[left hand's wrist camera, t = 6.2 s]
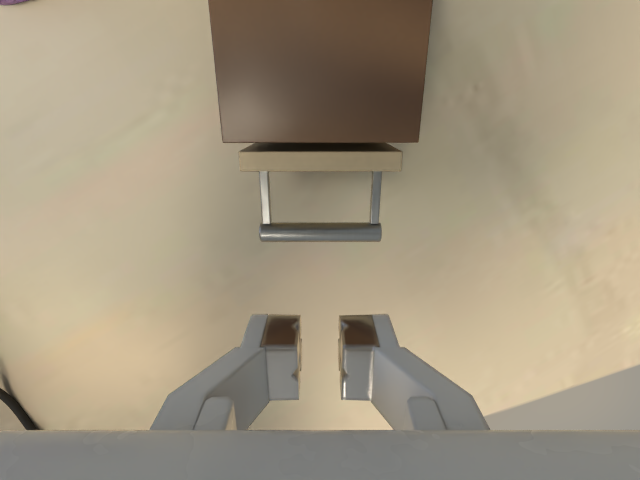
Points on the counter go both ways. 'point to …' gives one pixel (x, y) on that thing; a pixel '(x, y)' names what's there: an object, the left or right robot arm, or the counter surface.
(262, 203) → the drawer
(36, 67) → the counter surface
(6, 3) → the figurine
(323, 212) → the counter surface
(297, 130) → the cabinet
